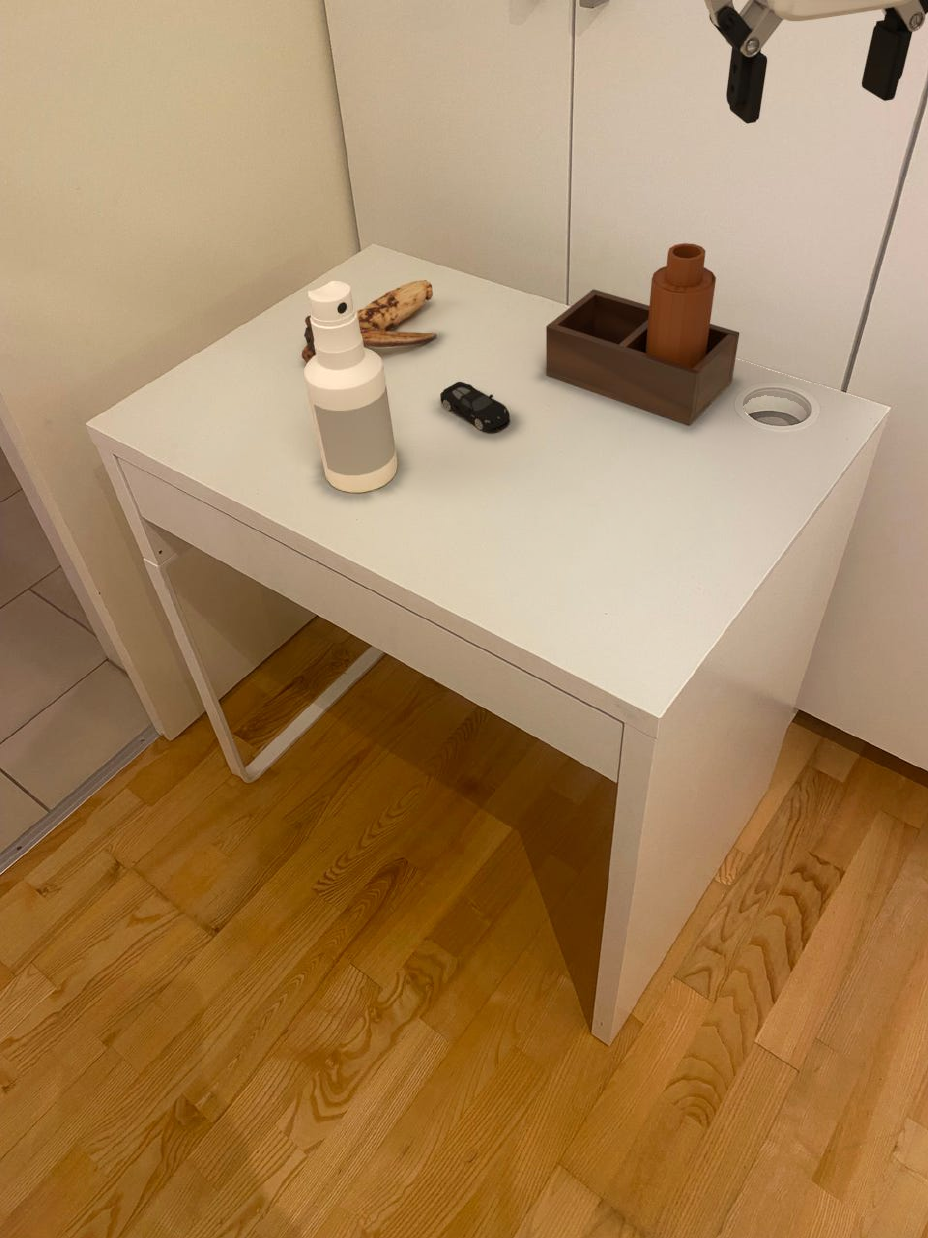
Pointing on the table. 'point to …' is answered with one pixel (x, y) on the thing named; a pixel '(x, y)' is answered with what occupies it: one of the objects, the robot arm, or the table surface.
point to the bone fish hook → (385, 319)
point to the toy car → (475, 407)
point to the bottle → (681, 307)
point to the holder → (634, 359)
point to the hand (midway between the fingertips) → (810, 104)
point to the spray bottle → (348, 396)
